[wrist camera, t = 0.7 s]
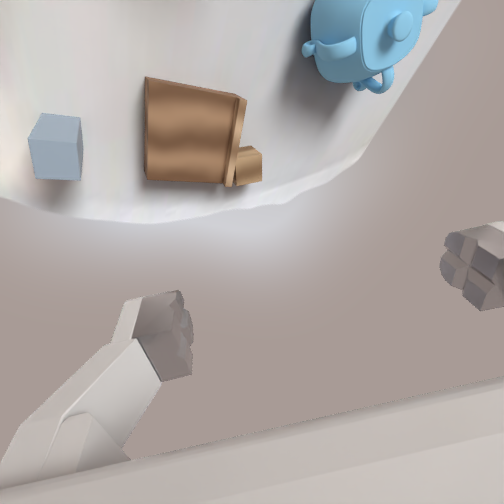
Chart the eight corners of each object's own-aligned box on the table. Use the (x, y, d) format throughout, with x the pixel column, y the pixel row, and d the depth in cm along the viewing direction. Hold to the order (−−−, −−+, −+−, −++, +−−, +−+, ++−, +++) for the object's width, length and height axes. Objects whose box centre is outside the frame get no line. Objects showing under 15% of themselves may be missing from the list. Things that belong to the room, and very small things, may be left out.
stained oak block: (225, 149, 53) (235, 159, 50) (250, 145, 55) (261, 154, 51) (227, 175, 56) (236, 186, 53) (251, 170, 58) (261, 180, 54)
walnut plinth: (145, 76, 42) (150, 82, 38) (234, 93, 48) (247, 100, 44) (144, 170, 50) (148, 183, 46) (221, 175, 56) (231, 186, 52)
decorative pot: (342, -76, 41) (420, -107, 31) (398, 6, 50) (471, 1, 41) (281, 45, 47) (330, 51, 37) (341, 98, 56) (393, 114, 46)
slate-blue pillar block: (42, 112, 40) (27, 138, 31) (80, 117, 42) (76, 143, 33) (47, 146, 42) (35, 178, 34) (83, 149, 44) (80, 180, 36)
